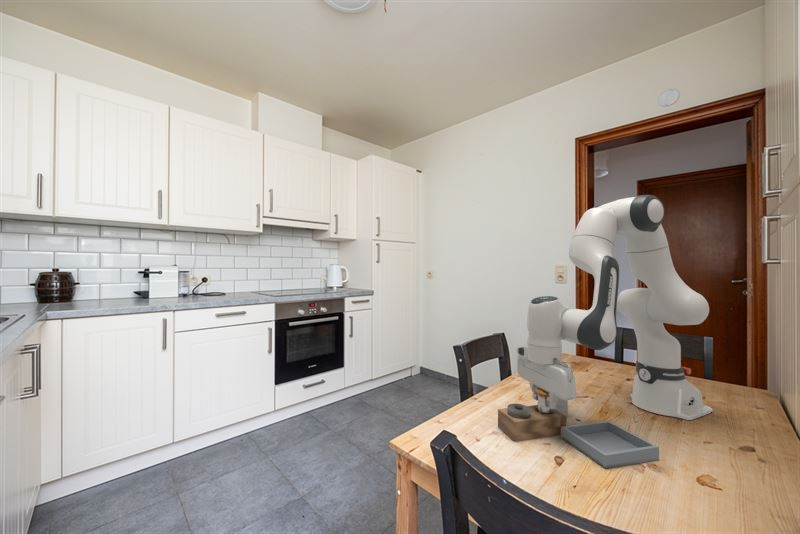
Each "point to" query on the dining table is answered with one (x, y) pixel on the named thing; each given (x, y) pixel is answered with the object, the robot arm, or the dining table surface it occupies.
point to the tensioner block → (529, 422)
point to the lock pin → (543, 401)
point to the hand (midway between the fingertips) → (543, 403)
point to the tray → (609, 444)
